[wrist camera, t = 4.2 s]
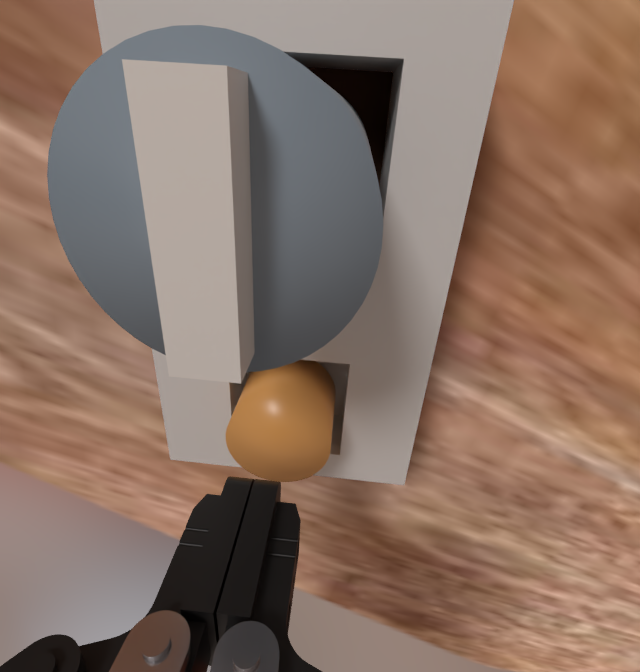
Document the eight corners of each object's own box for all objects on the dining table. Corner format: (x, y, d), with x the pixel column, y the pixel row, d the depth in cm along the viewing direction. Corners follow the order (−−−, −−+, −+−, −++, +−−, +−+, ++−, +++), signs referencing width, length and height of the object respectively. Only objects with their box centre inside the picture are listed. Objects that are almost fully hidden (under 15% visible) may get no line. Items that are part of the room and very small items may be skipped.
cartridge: (376, 89, 14) (419, 21, 3) (362, 220, 16) (363, 419, 6) (247, 81, 14) (-69, -6, 4) (251, 211, 16) (56, 388, 6)
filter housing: (161, 10, 13) (89, -26, 10) (473, 27, 13) (515, -4, 9) (202, 401, 21) (170, 459, 18) (396, 421, 21) (404, 485, 17)
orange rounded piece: (245, 349, 16) (222, 396, 13) (338, 357, 16) (334, 408, 13) (248, 421, 17) (228, 475, 15) (332, 429, 17) (327, 486, 15)
